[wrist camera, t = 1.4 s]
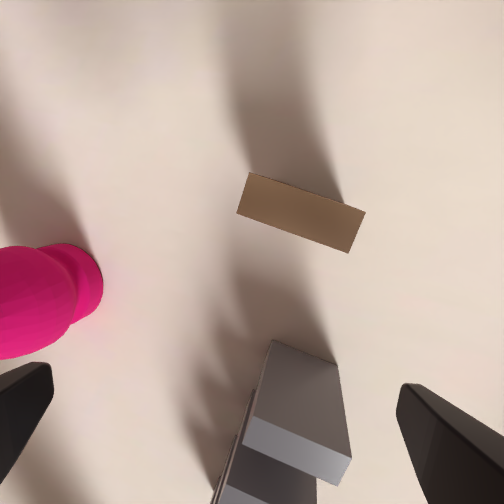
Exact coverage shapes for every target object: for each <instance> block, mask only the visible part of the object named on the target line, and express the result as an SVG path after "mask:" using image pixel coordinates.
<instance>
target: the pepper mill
mask: <svg viewBox="0 0 504 504" xmlns="http://www.w3.org/2000/svg"><path fill="white" fill-rule="evenodd" d="M102 294H103V281H102V277H101V273H100V271H99V269H98V267H97V265H96V263H95V262H94V260H93V259H92V258H91V257H90V256H89V255H88V254H87V253H85V252H84V251H83V250H82V249H80V248H78V247H76V246H73V245H70V244H54V245H50V246H45V247H41V248H37V249H33V248H30V247H25V246H9V247H5V248H1V249H0V360H4V359H11V358H16V357H20V356H23V355H27V354H30V353H33V352H35V351H38V350H40V349H42V348H44V347H46V346H48V345H50V344H52V343H54V342H55V341H57V340H58V339H59V338H60V337H61V336H63V335H64V333H65V332H66V331H67V329H68V328H69V326H70V325H71V324H73V323H75V322H77V321H79V320H80V319H82V318H84V317H86V316H88V315H89V314H91V313H92V312H93V311H94V310H95V309H96V308H97V306H98V305H99V303H100V301H101V298H102Z"/></svg>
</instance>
